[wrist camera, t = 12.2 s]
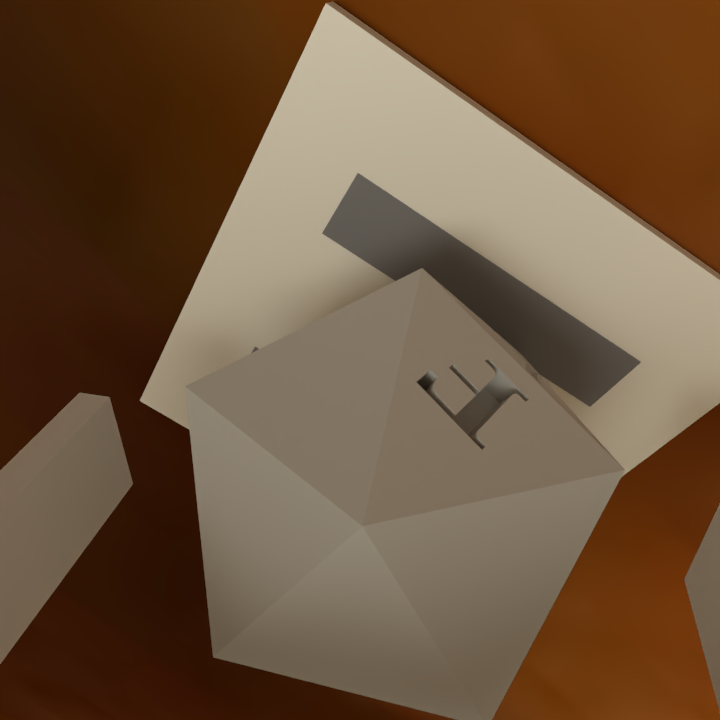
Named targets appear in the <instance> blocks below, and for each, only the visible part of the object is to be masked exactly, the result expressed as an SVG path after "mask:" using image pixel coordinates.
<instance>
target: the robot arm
mask: <svg viewBox="0 0 720 720" xmlns="http://www.w3.org/2000/svg"><path fill="white" fill-rule="evenodd" d="M132 485H133V482H132V478H131V475H130V471H129V467H128V463H127V460H126V456H125V452H124V449H123V445H122V441H121V438H120V434H119V430H118V426H117V423H116V419H115V415H114V412H113V408H112V404H111V401H110V397H106V396H99V395H92V394H86V393H79V394H78V395H77V396H76V397H75V398H74V399H73V400H72V401H71V402H70V403H69V404H68V405H67V406H65V407H64V408H63V409H62V410H61V411H60V412H59V413H58V414H57V415H56V416H55V417H54V418H53V419H52V420H51V421H50V422H49V423H48V424H47V425H46V426H45V427H44V428H43V429H42V430H41V431H40V432H39V433H38V434H37V435H36V436H35V437H34V438H33V439H32V440H31V441H30V442H29V443H28V444H27V445H26V446H25V447H24V448H23V449H22V450H21V451H20V452H19V453H18V454H17V455H16V456H15V457H14V458H13V459H12V460H11V461H10V462H8V463H7V464H6V465H5V466H4V467H3V468H2V469H1V470H0V664H1V662H2V661H3V660H4V658H5V657H6V656H7V654H8V653H9V652H10V650H11V649H12V647H13V646H14V645H15V643H16V642H17V641H18V639H19V638H20V637H21V635H22V634H23V633H24V631H25V630H26V628H27V627H28V626H29V624H30V623H31V622H32V620H33V619H34V618H35V616H36V615H37V614H38V612H39V611H40V609H41V608H42V607H43V605H44V604H45V603H46V601H47V600H48V599H49V597H50V596H51V595H52V593H53V592H54V591H55V589H56V588H57V586H58V585H59V584H60V582H61V581H62V580H63V578H64V577H65V576H66V574H67V573H68V572H69V570H70V569H71V567H72V566H73V565H74V563H75V562H76V561H77V559H78V558H79V557H80V555H81V554H82V553H83V551H84V550H85V548H86V547H87V546H88V544H89V543H90V542H91V540H92V539H93V538H94V536H95V535H96V534H97V532H98V531H99V529H100V528H101V527H102V525H103V524H104V523H105V521H106V520H107V519H108V517H109V516H110V515H111V513H112V512H113V510H114V509H115V508H116V506H117V505H118V504H119V502H120V501H121V500H122V498H123V497H124V496H125V494H126V493H127V491H128V490H129V489H130V487H131V486H132ZM684 581H685V584H686V588H687V592H688V595H689V599H690V603H691V607H692V610H693V614H694V618H695V621H696V625H697V629H698V633H699V636H700V640H701V644H702V647H703V651H704V655H705V659H706V662H707V666H708V670H709V673H710V677H711V681H712V685H713V688H714V692H715V696H716V699H717V703H718V707H719V710H720V504H719V506H718V508H717V511H716V513H715V515H714V517H713V519H712V521H711V523H710V525H709V528H708V530H707V532H706V534H705V536H704V538H703V540H702V543H701V545H700V547H699V549H698V551H697V553H696V555H695V557H694V560H693V562H692V564H691V566H690V568H689V570H688V572H687V574H686V577H685V579H684Z"/></svg>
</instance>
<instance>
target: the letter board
mask: <svg viewBox="0 0 720 720" xmlns="http://www.w3.org/2000/svg"><path fill="white" fill-rule="evenodd" d="M421 268H423V269H424V270H425V271H426V272H427V273H428V274H430V275H431V276H432V277H433V278H434V279H435V280H437V281H438V282H439V283H440V284H441V285H442V286H443V287H445V288H446V289H447V290H448V291H449V292H450V293H452V294H453V295H454V296H455V297H456V298H457V299H458V300H460V301H461V302H462V303H463V304H464V305H465V306H467V307H468V308H469V309H470V310H471V311H472V312H473V313H475V314H476V315H477V316H478V317H479V318H480V319H482V320H483V321H484V322H485V323H486V324H487V325H488V326H490V327H491V328H492V329H493V330H494V331H495V332H496V333H498V334H499V335H500V336H501V337H502V338H503V339H505V340H506V341H507V342H508V343H509V344H510V345H511V346H513V347H514V348H515V349H516V350H517V351H518V352H520V353H521V354H522V355H523V356H524V358H525V359H526V360H527V361H528V362H529V363H530V364H531V365H532V366H533V368H534V369H535V370H536V371H537V372H538V373H539V374H540V375H541V377H542V378H543V379H544V380H545V381H546V382H547V383H548V384H549V385H550V387H551V388H552V389H553V390H554V391H555V392H556V393H557V394H558V396H559V397H560V398H561V399H562V400H563V401H564V402H565V403H566V405H567V406H568V407H569V408H570V409H571V410H572V411H573V412H574V413H575V415H576V416H577V417H578V418H579V419H580V420H581V421H582V422H583V424H584V425H585V426H586V427H587V428H588V429H589V430H590V431H591V432H592V434H593V435H594V436H595V437H596V438H597V439H598V440H599V441H600V443H601V444H602V445H603V446H604V447H605V448H606V449H607V450H608V452H609V453H610V454H611V455H612V456H613V457H614V458H615V459H616V460H617V462H618V463H619V464H620V465H621V466H622V467H623V468H624V469H625V471H624V473H623V475H625V474H626V473H627V472H629V471H630V470H631V469H633V468H634V467H635V466H637V465H638V464H639V463H641V462H642V461H643V460H645V459H646V458H647V457H649V456H650V455H651V454H653V453H654V452H655V451H657V450H658V449H659V448H661V447H662V446H663V445H665V444H666V443H667V442H669V441H670V440H671V439H673V438H674V437H675V436H677V435H678V434H679V433H681V432H682V431H683V430H685V429H686V428H687V427H689V426H690V425H691V424H693V423H694V422H695V421H696V420H698V419H699V418H700V417H702V416H703V415H704V414H706V413H707V412H708V411H710V410H711V409H712V408H714V407H715V406H716V405H718V404H719V403H720V274H719V273H717V272H716V271H715V270H713V269H712V268H710V267H709V266H708V265H706V264H705V263H703V262H702V261H700V260H699V259H698V258H696V257H695V256H693V255H692V254H691V253H689V252H688V251H686V250H685V249H683V248H682V247H681V246H679V245H678V244H676V243H675V242H673V241H672V240H671V239H669V238H668V237H666V236H665V235H664V234H662V233H661V232H659V231H658V230H656V229H655V228H654V227H652V226H651V225H649V224H648V223H647V222H645V221H644V220H642V219H641V218H639V217H638V216H637V215H635V214H634V213H632V212H631V211H630V210H628V209H627V208H625V207H624V206H622V205H621V204H620V203H618V202H617V201H615V200H614V199H613V198H611V197H610V196H608V195H607V194H605V193H604V192H603V191H601V190H600V189H598V188H597V187H595V186H594V185H593V184H591V183H590V182H588V181H587V180H586V179H584V178H583V177H581V176H580V175H578V174H577V173H576V172H574V171H573V170H571V169H570V168H569V167H567V166H566V165H564V164H563V163H561V162H560V161H559V160H557V159H556V158H554V157H553V156H552V155H550V154H549V153H547V152H546V151H544V150H543V149H542V148H540V147H539V146H537V145H536V144H535V143H533V142H532V141H530V140H529V139H527V138H526V137H525V136H523V135H522V134H520V133H519V132H518V131H516V130H515V129H513V128H512V127H510V126H509V125H508V124H506V123H505V122H503V121H502V120H500V119H499V118H498V117H496V116H495V115H493V114H492V113H491V112H489V111H488V110H486V109H485V108H483V107H482V106H481V105H479V104H478V103H476V102H475V101H474V100H472V99H471V98H469V97H468V96H466V95H465V94H464V93H462V92H461V91H459V90H458V89H457V88H455V87H454V86H452V85H451V84H449V83H448V82H447V81H445V80H444V79H442V78H441V77H440V76H438V75H437V74H435V73H434V72H432V71H431V70H430V69H428V68H427V67H425V66H424V65H422V64H421V63H420V62H418V61H417V60H415V59H414V58H413V57H411V56H410V55H408V54H407V53H405V52H404V51H403V50H401V49H400V48H398V47H397V46H396V45H394V44H393V43H391V42H390V41H388V40H387V39H386V38H384V37H383V36H381V35H380V34H379V33H377V32H376V31H374V30H373V29H371V28H370V27H369V26H367V25H366V24H364V23H363V22H362V21H360V20H359V19H357V18H356V17H354V16H353V15H352V14H350V13H349V12H347V11H346V10H345V9H343V8H342V7H340V6H339V5H337V4H336V3H335V2H328V3H326V4H325V6H324V8H323V10H322V12H321V15H320V17H319V19H318V21H317V23H316V25H315V27H314V30H313V32H312V34H311V36H310V38H309V40H308V42H307V44H306V47H305V49H304V51H303V53H302V55H301V57H300V59H299V62H298V64H297V66H296V68H295V70H294V72H293V74H292V76H291V79H290V81H289V83H288V85H287V87H286V89H285V91H284V94H283V96H282V98H281V100H280V102H279V104H278V106H277V109H276V111H275V113H274V115H273V117H272V119H271V121H270V123H269V126H268V128H267V130H266V132H265V134H264V136H263V138H262V141H261V143H260V145H259V147H258V149H257V151H256V153H255V156H254V158H253V160H252V162H251V164H250V166H249V168H248V170H247V173H246V175H245V177H244V179H243V181H242V183H241V185H240V188H239V190H238V192H237V194H236V196H235V198H234V200H233V203H232V205H231V207H230V209H229V211H228V213H227V215H226V217H225V220H224V222H223V224H222V226H221V228H220V230H219V232H218V235H217V237H216V239H215V241H214V243H213V245H212V247H211V250H210V252H209V254H208V256H207V258H206V260H205V262H204V264H203V267H202V269H201V271H200V273H199V275H198V277H197V279H196V282H195V284H194V286H193V288H192V290H191V292H190V294H189V297H188V299H187V301H186V303H185V305H184V307H183V309H182V311H181V314H180V316H179V318H178V320H177V322H176V324H175V326H174V329H173V331H172V333H171V335H170V337H169V339H168V341H167V344H166V346H165V348H164V350H163V352H162V354H161V356H160V358H159V361H158V363H157V365H156V367H155V369H154V371H153V373H152V376H151V378H150V380H149V382H148V384H147V386H146V388H145V390H144V393H143V395H142V397H141V399H140V401H141V402H143V403H144V404H146V405H148V406H149V407H151V408H153V409H155V410H156V411H158V412H160V413H161V414H163V415H165V416H167V417H168V418H170V419H172V420H174V421H175V422H177V423H179V424H180V425H182V426H184V427H186V428H187V429H189V420H188V410H187V400H186V391H185V386H187V385H189V384H191V383H193V382H195V381H197V380H199V379H201V378H203V377H205V376H207V375H209V374H211V373H213V372H215V371H217V370H219V369H221V368H223V367H225V366H227V365H229V364H231V363H233V362H235V361H237V360H239V359H241V358H243V357H245V356H247V355H249V354H251V353H253V352H255V351H257V350H259V349H261V348H263V347H265V346H267V345H269V344H271V343H273V342H275V341H277V340H279V339H281V338H283V337H285V336H287V335H289V334H291V333H293V332H295V331H297V330H299V329H301V328H303V327H305V326H307V325H309V324H311V323H313V322H315V321H317V320H319V319H321V318H323V317H325V316H327V315H329V314H331V313H333V312H335V311H337V310H339V309H341V308H343V307H345V306H347V305H349V304H351V303H353V302H355V301H357V300H359V299H361V298H363V297H365V296H367V295H369V294H371V293H373V292H375V291H377V290H379V289H381V288H383V287H385V286H387V285H389V284H391V283H393V282H395V281H397V280H399V279H401V278H403V277H405V276H407V275H409V274H411V273H413V272H415V271H417V270H419V269H421ZM189 430H190V429H189ZM623 475H622V476H623Z"/></svg>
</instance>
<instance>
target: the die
mask: <svg viewBox="0 0 720 720" xmlns="http://www.w3.org/2000/svg"><path fill="white" fill-rule="evenodd" d="M185 391H186V400H187V410H188V420H189V429H190V439H191V449H192V458H193V468H194V478H195V487H196V497H197V507H198V516H199V526H200V536H201V545H202V555H203V564H204V574H205V584H206V593H207V603H208V613H209V622H210V632H211V642H212V651H213V657H214V658H218V659H222V660H226V661H230V662H234V663H238V664H242V665H245V666H249V667H253V668H257V669H261V670H265V671H269V672H273V673H277V674H281V675H285V676H288V677H292V678H296V679H300V680H304V681H308V682H312V683H316V684H320V685H324V686H328V687H332V688H335V689H339V690H343V691H347V692H351V693H355V694H359V695H363V696H367V697H371V698H375V699H378V700H382V701H386V702H390V703H394V704H398V705H402V706H406V707H410V708H414V709H418V710H421V711H425V712H429V713H433V714H437V715H441V716H445V717H449V718H453V719H457V720H492V718H493V717H494V715H495V713H496V711H497V709H498V707H499V705H500V703H501V702H502V700H503V698H504V696H505V694H506V692H507V690H508V688H509V687H510V685H511V683H512V681H513V679H514V677H515V675H516V673H517V672H518V670H519V668H520V666H521V664H522V662H523V660H524V658H525V657H526V655H527V653H528V651H529V649H530V647H531V645H532V643H533V642H534V640H535V638H536V636H537V634H538V632H539V630H540V628H541V627H542V625H543V623H544V621H545V619H546V617H547V615H548V613H549V612H550V610H551V608H552V606H553V604H554V602H555V600H556V598H557V597H558V595H559V593H560V591H561V589H562V587H563V585H564V583H565V582H566V580H567V578H568V576H569V574H570V572H571V570H572V568H573V567H574V565H575V563H576V561H577V559H578V557H579V555H580V553H581V552H582V550H583V548H584V546H585V544H586V542H587V540H588V538H589V537H590V535H591V533H592V531H593V529H594V527H595V525H596V523H597V522H598V520H599V518H600V516H601V514H602V512H603V510H604V508H605V507H606V505H607V503H608V501H609V499H610V497H611V495H612V493H613V492H614V490H615V488H616V486H617V484H618V482H619V480H620V478H621V477H622V475H623V473H624V471H625V469H624V468H623V467H622V466H621V465H620V464H619V463H618V462H617V460H616V459H615V458H614V457H613V456H612V455H611V454H610V453H609V452H608V450H607V449H606V448H605V447H604V446H603V445H602V444H601V443H600V441H599V440H598V439H597V438H596V437H595V436H594V435H593V434H592V432H591V431H590V430H589V429H588V428H587V427H586V426H585V425H584V424H583V422H582V421H581V420H580V419H579V418H578V417H577V416H576V415H575V413H574V412H573V411H572V410H571V409H570V408H569V407H568V406H567V405H566V403H565V402H564V401H563V400H562V399H561V398H560V397H559V396H558V394H557V393H556V392H555V391H554V390H553V389H552V388H551V387H550V385H549V384H548V383H547V382H546V381H545V380H544V379H543V378H542V377H541V375H540V374H539V373H538V372H537V371H536V370H535V369H534V368H533V366H532V365H531V364H530V363H529V362H528V361H527V360H526V359H525V358H524V356H523V355H522V354H521V353H520V352H518V351H517V350H516V349H515V348H514V347H513V346H511V345H510V344H509V343H508V342H507V341H506V340H505V339H503V338H502V337H501V336H500V335H499V334H498V333H496V332H495V331H494V330H493V329H492V328H491V327H490V326H488V325H487V324H486V323H485V322H484V321H483V320H482V319H480V318H479V317H478V316H477V315H476V314H475V313H473V312H472V311H471V310H470V309H469V308H468V307H467V306H465V305H464V304H463V303H462V302H461V301H460V300H458V299H457V298H456V297H455V296H454V295H453V294H452V293H450V292H449V291H448V290H447V289H446V288H445V287H443V286H442V285H441V284H440V283H439V282H438V281H437V280H435V279H434V278H433V277H432V276H431V275H430V274H428V273H427V272H426V271H425V270H424V269H423V268H421V269H419V270H417V271H415V272H413V273H411V274H409V275H407V276H405V277H403V278H401V279H399V280H397V281H395V282H393V283H391V284H389V285H387V286H385V287H383V288H381V289H379V290H377V291H375V292H373V293H371V294H369V295H367V296H365V297H363V298H361V299H359V300H357V301H355V302H353V303H351V304H349V305H347V306H345V307H343V308H341V309H339V310H337V311H335V312H333V313H331V314H329V315H327V316H325V317H323V318H321V319H319V320H317V321H315V322H313V323H311V324H309V325H307V326H305V327H303V328H301V329H299V330H297V331H295V332H293V333H291V334H289V335H287V336H285V337H283V338H281V339H279V340H277V341H275V342H273V343H271V344H269V345H267V346H265V347H263V348H261V349H259V350H257V351H255V352H253V353H251V354H249V355H247V356H245V357H243V358H241V359H239V360H237V361H235V362H233V363H231V364H229V365H227V366H225V367H223V368H221V369H219V370H217V371H215V372H213V373H211V374H209V375H207V376H205V377H203V378H201V379H199V380H197V381H195V382H193V383H191V384H189V385H187V386H185Z"/></svg>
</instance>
